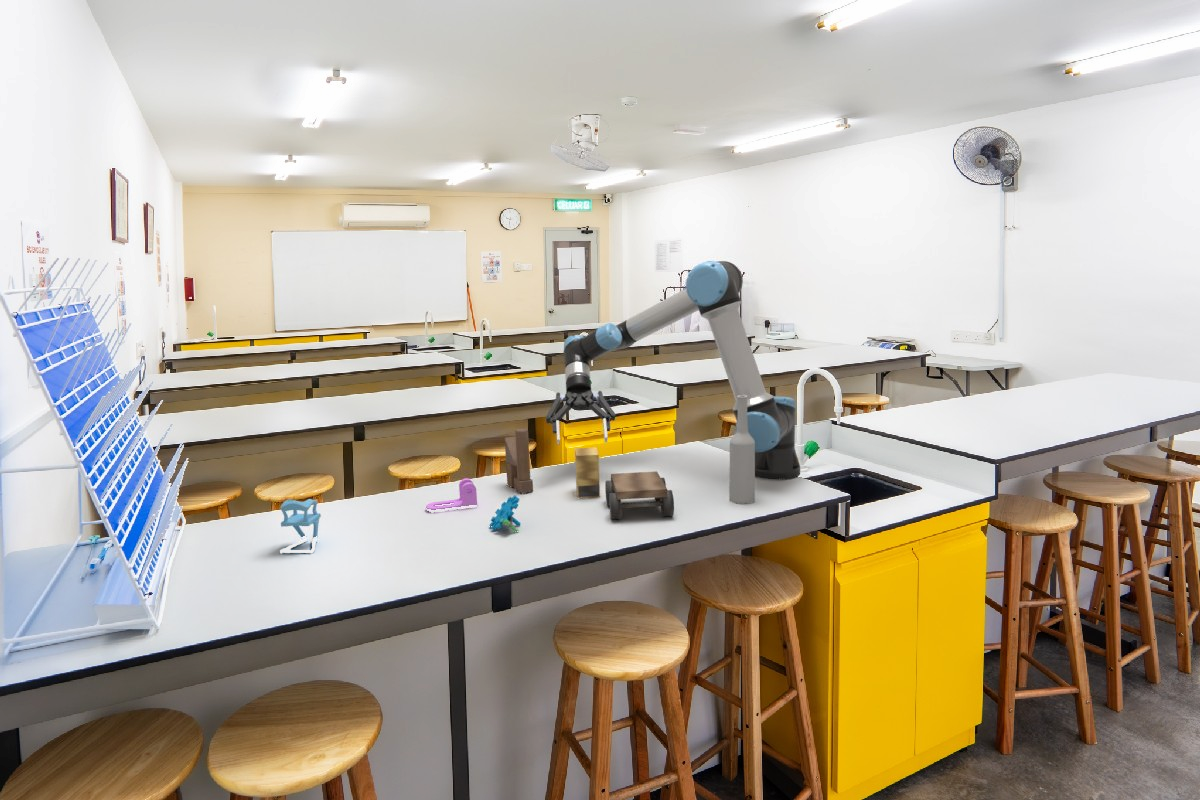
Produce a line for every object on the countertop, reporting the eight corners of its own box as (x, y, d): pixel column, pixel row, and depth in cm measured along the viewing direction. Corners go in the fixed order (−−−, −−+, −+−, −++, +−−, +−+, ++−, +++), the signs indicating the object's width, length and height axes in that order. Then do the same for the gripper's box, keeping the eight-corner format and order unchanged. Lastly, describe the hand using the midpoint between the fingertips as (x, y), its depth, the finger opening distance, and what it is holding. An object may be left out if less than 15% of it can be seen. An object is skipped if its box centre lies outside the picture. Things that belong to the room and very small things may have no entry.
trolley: (662, 497, 198) (662, 470, 197) (674, 519, 181) (673, 489, 180) (605, 500, 197) (604, 473, 196) (612, 522, 180) (611, 493, 179)
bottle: (724, 498, 196) (724, 395, 191) (744, 494, 199) (744, 392, 194) (739, 505, 190) (740, 399, 185) (760, 501, 193) (760, 396, 188)
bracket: (474, 502, 200) (472, 477, 199) (477, 508, 195) (475, 483, 194) (425, 508, 196) (423, 483, 195) (427, 514, 191) (425, 489, 190)
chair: (327, 540, 174) (322, 491, 172) (312, 553, 166) (307, 502, 164) (295, 541, 175) (290, 492, 173) (279, 554, 167) (273, 503, 165)
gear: (487, 515, 184) (514, 487, 183) (505, 528, 186) (532, 501, 184) (487, 536, 173) (515, 507, 172) (505, 550, 175) (534, 522, 174)
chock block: (597, 488, 208) (596, 447, 206) (599, 497, 200) (598, 454, 198) (576, 489, 208) (574, 448, 206) (577, 498, 200) (576, 455, 198)
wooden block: (518, 483, 216) (515, 423, 213) (533, 492, 207) (530, 429, 204) (506, 485, 214) (503, 424, 211) (521, 494, 205) (518, 431, 202)
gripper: (618, 386, 226) (624, 445, 214) (537, 389, 224) (539, 449, 212) (619, 371, 220) (626, 432, 208) (536, 375, 218) (538, 436, 206)
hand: (582, 441), depth 210 cm, fingers open, 13 cm apart
